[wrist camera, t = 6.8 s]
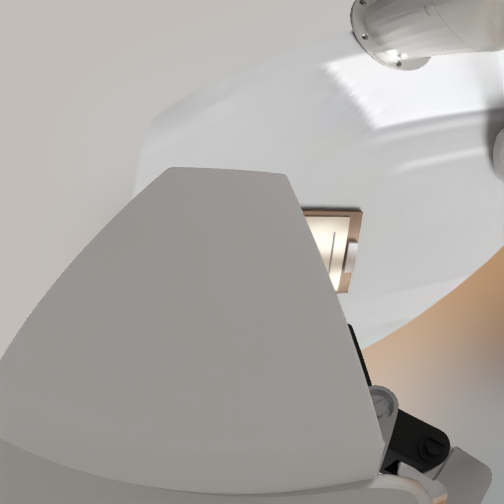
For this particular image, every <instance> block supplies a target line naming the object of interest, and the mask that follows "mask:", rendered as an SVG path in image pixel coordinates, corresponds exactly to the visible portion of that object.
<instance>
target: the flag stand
mask: <svg viewBox="0 0 504 504" xmlns="http://www.w3.org/2000/svg"><path fill="white" fill-rule="evenodd" d="M493 166H494V171H495V174H496V176H497V178H498V179H499V180H500V181H501V182H502V183H504V128H503V129H501V130H500V132H499V133H498V135H497V137H496V139H495V143H494V147H493Z"/></svg>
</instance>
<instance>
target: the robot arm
mask: <svg viewBox="0 0 504 504" xmlns="http://www.w3.org/2000/svg"><path fill="white" fill-rule="evenodd" d="M360 3H361V4H362V5H361V4H360ZM350 17H351V24H352V28H353V31H354V33H355V36H356V38H357V39H358V41H359V42H360V44H361V46H362V47H363V48H364V49H365V50H366V51H367V53H369V54H370V55H371V56H372V57H373V58H374V59H376V60H377V61H379V62H380V63H381V64H383V65H385V66H387V67H389V68H392V69H396V70H402V71H410V70H416V69H419V68H421V67H423V66H424V65H425V64H426V63H427V62H428V61H429V60H430V58H431V56H438V55H446V54H457V53H472V52H495V51H501V50H503V49H504V0H356V1H355V2H354V4H353V6H352V8H351V14H350ZM362 37H364V39H363V38H362ZM396 64H397V65H396ZM348 327H349V330H350V333H351V336H352V339H353V342H354V345H355V348H356V351H357V354H358V357H359V360H360V363H361V366H362V369H363V372H364V375H365V379H366V382H367V385H368V388H369V392H370V395H371V398H372V402H373V405H374V409H375V412H376V416H377V420H378V423H379V427H380V431H381V434H382V438H383V441H384V442H385V446H384V450H383V454H382V458H381V461H380V464H379V468H378V471H377V474H376V477H375V478H374V479H368V480H361V481H356V482H351V483H345V484H340V485H334V486H329V487H323V488H316V489H308V490H300V491H292V492H282V493H268V494H209V493H196V492H186V491H177V490H170V489H163V488H157V487H151V486H145V485H139V484H133V483H128V482H123V481H118V480H114V479H109V478H105V477H101V476H97V475H93V474H90V473H86V472H83V471H79V470H76V469H73V468H70V467H67V466H64V465H61V464H58V463H55V462H53V461H50V460H48V459H45V458H42V457H40V456H38V455H35V454H33V453H30V452H28V451H26V450H23V449H21V448H19V447H17V446H15V445H13V444H11V443H9V442H7V441H5V440H3V439H1V438H0V504H480V503H481V501H482V500H483V498H484V496H485V494H486V492H487V490H488V488H489V486H490V484H491V481H492V473H491V470H490V468H489V467H488V466H487V465H485V464H484V463H481V462H480V461H479V460H477V459H475V458H474V457H472V456H471V455H469V454H467V453H466V452H464V451H463V450H462V449H460V448H458V447H457V446H456V447H454V448H453V447H451V446H450V442H449V439H448V437H447V435H446V434H445V433H444V432H442V431H441V430H439V429H437V428H435V427H433V426H431V425H429V424H427V423H425V422H423V421H421V420H419V419H417V418H415V417H413V416H411V415H409V414H408V413H405V412H404V411H402V410H400V409H398V406H399V405H398V401H397V398H396V396H395V395H394V393H393V392H391V391H390V390H389V389H387V388H385V387H382V386H377V385H374V386H372V384H371V381H370V378H369V374H368V371H367V369H366V365H365V362H364V359H363V356H362V353H361V350H360V347H359V345H358V342H357V339H356V336H355V333H354V331H353V328H352V326H351V325H350V324H348ZM379 472H380V473H382V474H378V473H379Z"/></svg>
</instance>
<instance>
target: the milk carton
mask: <svg viewBox="0 0 504 504" xmlns="http://www.w3.org/2000/svg"><path fill="white" fill-rule="evenodd" d="M0 438H1V439H3V440H5V441H7V442H9V443H11V444H13V445H15V446H17V447H19V448H21V449H23V450H26V451H28V452H30V453H33V454H35V455H38V456H40V457H42V458H45V459H48V460H50V461H53V462H55V463H58V464H61V465H64V466H67V467H70V468H73V469H76V470H79V471H83V472H86V473H90V474H93V475H97V476H101V477H105V478H109V479H114V480H118V481H123V482H128V483H133V484H139V485H145V486H151V487H157V488H163V489H170V490H177V491H186V492H196V493H209V494H268V493H282V492H292V491H300V490H308V489H316V488H323V487H329V486H334V485H340V484H345V483H351V482H356V481H361V480H368V479H374V478H375V477H376V474H377V471H378V468H379V464H380V461H381V458H382V454H383V450H384V446H385V442H384V441H383V438H382V434H381V431H380V427H379V423H378V420H377V416H376V412H375V409H374V405H373V402H372V398H371V395H370V392H369V388H368V385H367V382H366V379H365V375H364V372H363V369H362V366H361V363H360V360H359V357H358V354H357V351H356V348H355V345H354V342H353V339H352V336H351V333H350V330H349V327H348V324H347V322H346V319H345V316H344V313H343V311H342V308H341V305H340V302H339V300H338V297H337V294H336V292H335V289H334V287H333V284H332V281H331V279H330V276H329V274H328V271H327V269H326V266H325V264H324V261H323V259H322V256H321V254H320V251H319V249H318V246H317V244H316V242H315V239H314V237H313V234H312V232H311V230H310V227H309V225H308V223H307V220H306V218H305V216H304V213H303V211H302V209H301V207H300V204H299V202H298V200H297V198H296V196H295V193H294V191H293V189H292V187H291V185H290V182H289V180H288V178H287V176H286V175H284V174H278V173H269V172H258V171H245V170H230V169H212V168H186V167H172V168H168V169H167V170H166V171H164V172H163V173H162V174H161V175H160V176H159V177H157V178H156V179H155V180H154V181H153V182H152V183H151V184H149V185H148V186H147V187H146V188H145V189H144V190H143V191H142V192H140V193H139V194H138V195H137V196H136V197H135V198H134V199H133V200H132V201H131V202H130V203H129V204H128V205H127V206H125V207H124V208H123V209H122V210H121V211H120V212H119V213H118V214H117V215H116V216H115V217H114V218H113V219H112V220H111V221H110V222H109V223H108V224H107V225H106V226H105V227H104V228H103V229H102V230H101V231H100V232H99V233H98V234H97V235H96V237H95V238H94V239H93V240H92V241H91V242H90V243H89V244H88V245H87V246H86V247H85V248H84V249H83V250H82V252H81V253H80V254H79V255H78V256H77V257H76V258H75V259H74V261H73V262H72V263H71V264H70V265H69V266H68V267H67V269H66V270H65V271H64V272H63V273H62V275H61V276H60V277H59V278H58V279H57V281H56V282H55V283H54V284H53V285H52V287H51V288H50V289H49V291H48V292H47V293H46V295H45V296H44V297H43V298H42V300H41V301H40V302H39V303H38V305H37V306H36V307H35V309H34V310H33V312H32V313H31V314H30V316H29V317H28V318H27V320H26V321H25V323H24V324H23V326H22V327H21V329H20V330H19V331H18V333H17V335H16V336H15V337H14V339H13V340H12V342H11V344H10V345H9V347H8V349H7V350H6V352H5V353H4V355H3V356H2V358H1V360H0Z"/></svg>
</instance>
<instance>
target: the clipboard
mask: <svg viewBox="0 0 504 504" xmlns="http://www.w3.org/2000/svg"><path fill="white" fill-rule="evenodd" d="M302 211H303V213H304V216H305V218H306V220H307V223H308V225H309V227H310V230H311V232H312V234H313V237H314V239H315V242H316V244H317V246H318V249H319V251H320V254H321V256H322V259H323V261H324V264H325V266H326V269H327V271H328V274H329V276H330V279H331V281H332V284H333V287H334V289H335V292H336V293H347V292H348V288H349V283H350V279H351V274H352V272H353V268H354V263H355V258H356V253H357V248H358V238H359V233H360V227H361V220H362V214H363V212H362V211H354V210H302Z"/></svg>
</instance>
